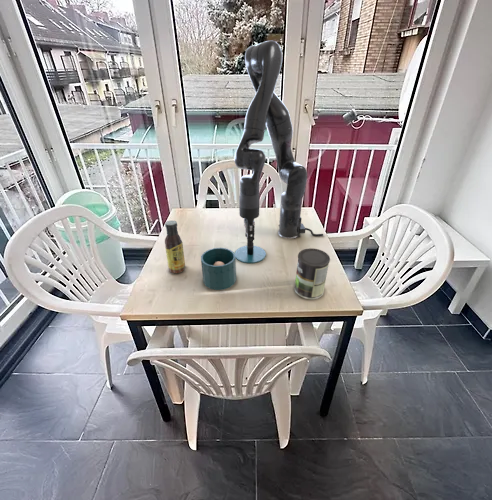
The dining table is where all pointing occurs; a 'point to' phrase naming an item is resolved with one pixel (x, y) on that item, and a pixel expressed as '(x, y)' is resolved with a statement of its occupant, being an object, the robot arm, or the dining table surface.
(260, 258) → the pot lid
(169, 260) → the sauce bottle
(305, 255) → the coffee can
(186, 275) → the dining table surface
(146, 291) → the dining table surface
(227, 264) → the pot
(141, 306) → the dining table surface
